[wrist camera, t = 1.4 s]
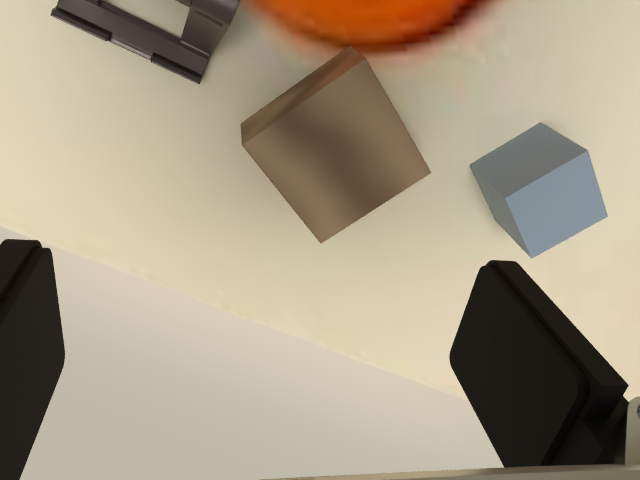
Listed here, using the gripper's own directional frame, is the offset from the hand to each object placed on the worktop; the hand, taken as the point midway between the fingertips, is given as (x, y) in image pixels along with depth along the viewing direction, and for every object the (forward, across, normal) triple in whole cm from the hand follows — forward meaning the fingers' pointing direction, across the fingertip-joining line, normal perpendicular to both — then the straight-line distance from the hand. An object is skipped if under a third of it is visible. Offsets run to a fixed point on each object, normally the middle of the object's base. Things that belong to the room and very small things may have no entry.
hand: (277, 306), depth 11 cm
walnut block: (+26, -6, +4) cm, 27 cm away
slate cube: (+25, -22, +6) cm, 34 cm away
